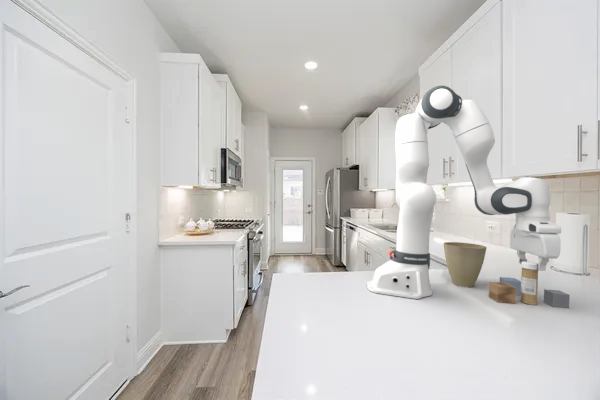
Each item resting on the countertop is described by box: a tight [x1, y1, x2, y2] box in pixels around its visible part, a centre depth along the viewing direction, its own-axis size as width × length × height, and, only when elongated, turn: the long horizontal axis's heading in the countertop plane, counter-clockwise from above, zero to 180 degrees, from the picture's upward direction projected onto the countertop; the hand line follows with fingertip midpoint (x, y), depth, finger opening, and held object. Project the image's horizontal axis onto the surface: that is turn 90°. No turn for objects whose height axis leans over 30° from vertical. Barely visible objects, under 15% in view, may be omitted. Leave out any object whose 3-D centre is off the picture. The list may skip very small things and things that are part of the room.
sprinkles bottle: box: [519, 261, 539, 306], centre depth 94 cm, size 5×5×14 cm
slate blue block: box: [498, 276, 521, 296], centre depth 105 cm, size 5×5×5 cm
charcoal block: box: [543, 288, 571, 309], centre depth 93 cm, size 4×4×4 cm
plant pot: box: [443, 241, 487, 288], centre depth 113 cm, size 15×15×16 cm
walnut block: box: [488, 281, 517, 305], centre depth 96 cm, size 6×6×6 cm
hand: (531, 267), depth 94 cm, fingers open, 8 cm apart
